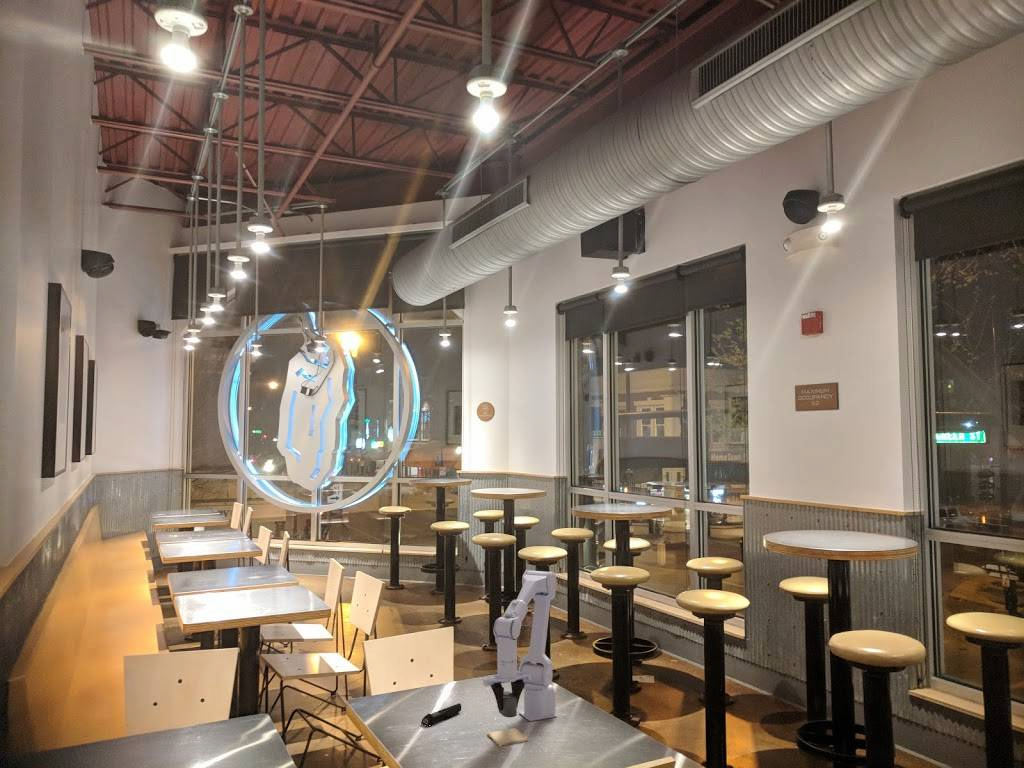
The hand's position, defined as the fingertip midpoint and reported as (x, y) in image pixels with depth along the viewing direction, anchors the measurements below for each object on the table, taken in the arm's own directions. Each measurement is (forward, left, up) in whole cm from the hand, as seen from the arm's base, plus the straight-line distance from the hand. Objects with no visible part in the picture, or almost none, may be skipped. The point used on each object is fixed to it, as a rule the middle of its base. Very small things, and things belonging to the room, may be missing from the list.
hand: (507, 708), depth 217 cm
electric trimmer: (+12, -23, -9) cm, 27 cm away
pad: (0, 0, -8) cm, 8 cm away
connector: (0, 0, -1) cm, 1 cm away
